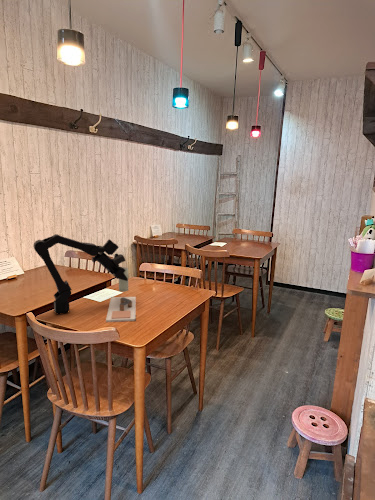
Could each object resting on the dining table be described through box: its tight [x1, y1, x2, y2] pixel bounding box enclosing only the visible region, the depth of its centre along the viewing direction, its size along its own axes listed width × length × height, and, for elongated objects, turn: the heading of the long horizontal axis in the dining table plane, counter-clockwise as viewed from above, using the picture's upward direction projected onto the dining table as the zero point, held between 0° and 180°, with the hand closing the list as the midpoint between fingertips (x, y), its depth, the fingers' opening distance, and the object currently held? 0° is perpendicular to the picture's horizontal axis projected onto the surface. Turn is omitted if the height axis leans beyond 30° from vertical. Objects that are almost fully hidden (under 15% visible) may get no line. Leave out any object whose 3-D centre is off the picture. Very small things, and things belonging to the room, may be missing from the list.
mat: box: [111, 311, 131, 319], centre depth 170 cm, size 9×9×1 cm
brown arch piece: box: [120, 296, 132, 311], centre depth 182 cm, size 8×11×4 cm
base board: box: [105, 296, 137, 323], centre depth 181 cm, size 34×14×1 cm, turn 8°
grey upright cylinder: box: [118, 266, 129, 293], centre depth 189 cm, size 5×5×12 cm
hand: (125, 279), depth 190 cm, fingers closed on grey upright cylinder, 5 cm apart
